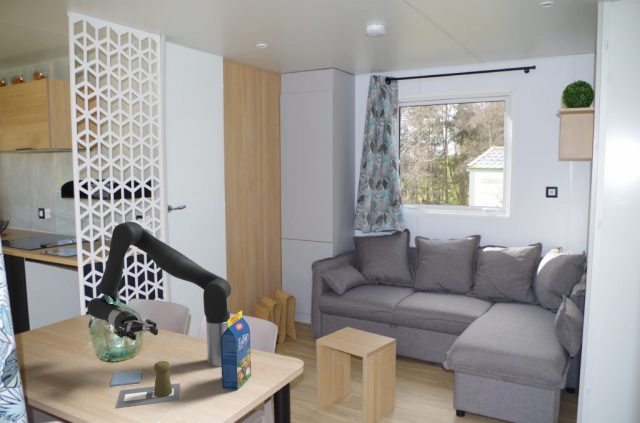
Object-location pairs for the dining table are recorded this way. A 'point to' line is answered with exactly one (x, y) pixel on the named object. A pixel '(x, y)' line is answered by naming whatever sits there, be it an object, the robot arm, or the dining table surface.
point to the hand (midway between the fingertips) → (146, 335)
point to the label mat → (145, 396)
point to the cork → (162, 379)
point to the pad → (126, 378)
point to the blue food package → (235, 353)
